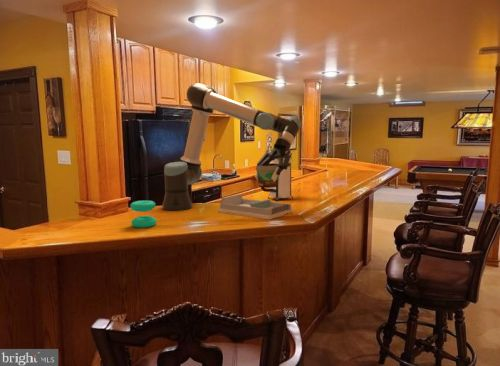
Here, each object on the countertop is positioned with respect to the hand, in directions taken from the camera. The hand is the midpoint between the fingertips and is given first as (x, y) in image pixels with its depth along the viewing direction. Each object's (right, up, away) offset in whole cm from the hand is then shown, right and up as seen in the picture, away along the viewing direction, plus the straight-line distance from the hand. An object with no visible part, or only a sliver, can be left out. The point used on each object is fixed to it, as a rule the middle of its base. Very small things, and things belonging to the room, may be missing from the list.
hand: (264, 179), depth 169 cm
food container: (+3, -4, +3) cm, 5 cm away
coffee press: (+10, -11, +44) cm, 47 cm away
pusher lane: (-4, -16, +10) cm, 19 cm away
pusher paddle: (-4, -14, +9) cm, 17 cm away
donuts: (-51, -20, -14) cm, 57 cm away
